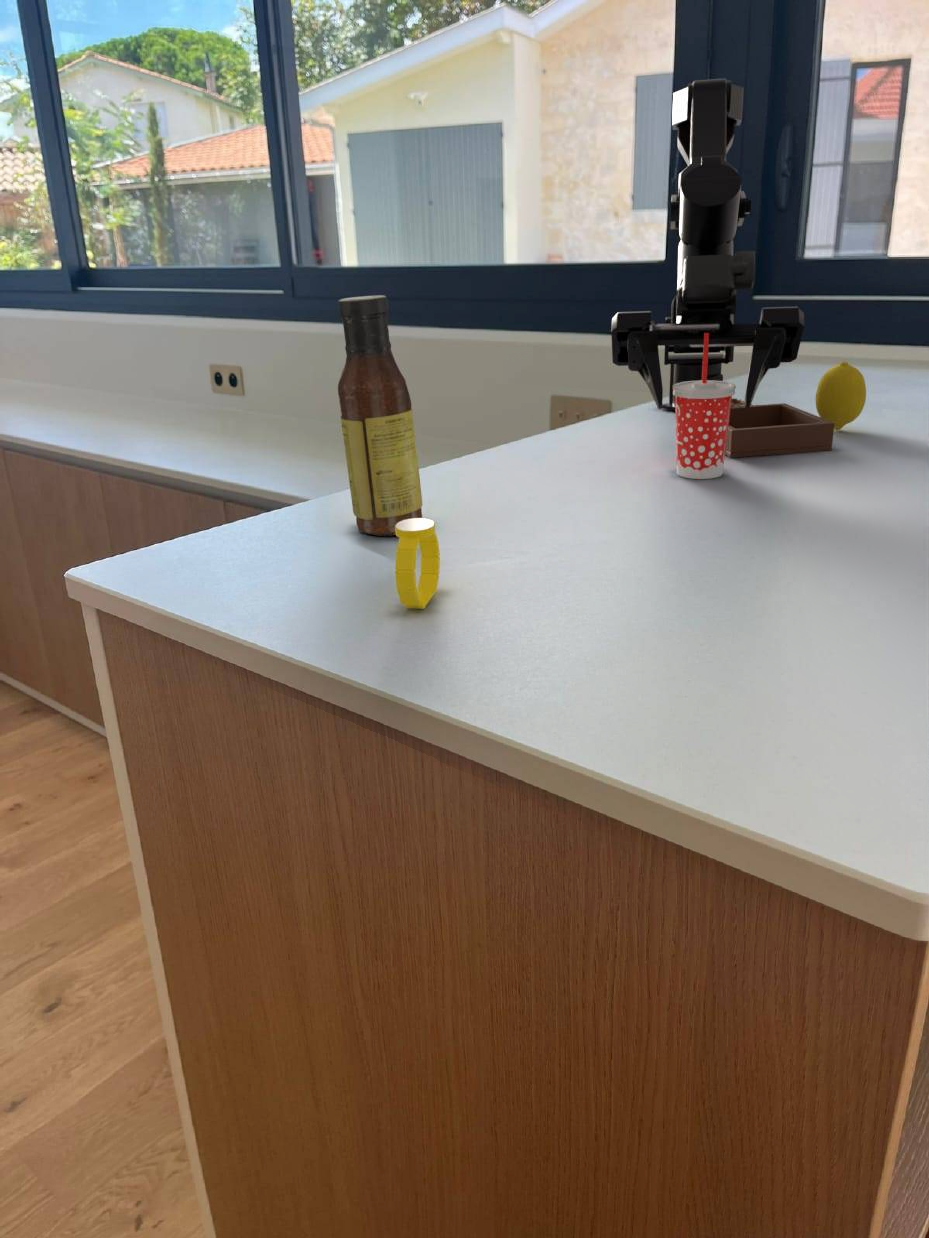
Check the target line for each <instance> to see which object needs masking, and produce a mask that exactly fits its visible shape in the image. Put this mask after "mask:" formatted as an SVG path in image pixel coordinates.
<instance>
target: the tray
mask: <svg viewBox="0 0 929 1238" xmlns="http://www.w3.org/2000/svg"><path fill="white" fill-rule="evenodd" d="M753 405H754V404H753ZM834 432H835V430H834V423H833V422H831V421H828V420H826V419H823V418H821V417H820V416H819V415H815V414H813V413H810V412H808V411H805V410H803V409H800V408H799V407H796V406H792V405H790V404H788V403H786V402H783V403H769V404H758V405H756V404H755V405H754V406H750V407H749V408H745V406H740V407H731V410H730V418H729V426H728V434H727V442H726V450H725V456H726V457H728V458H730V459H734V458H747V457H756V456H757V457H758V456H771V455H772V456H773V455H786V454H796V453H797V454H798V453H811V452H824V451H832V450H833V442H834V441H833V440H834Z"/></svg>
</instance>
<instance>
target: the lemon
mask: <svg viewBox="0 0 929 1238" xmlns="http://www.w3.org/2000/svg"><path fill="white" fill-rule="evenodd" d="M866 400H867V387H866V381H865V377H864V376H863V373H862V372H861V371H860V370H859V369H858V368H857V367H854V366H853V365H851V364H849V363H848V361H841V362H839V364H838V365H834V366H833V367H831V368H829V369H828V370H827V371H825V373H824V374H823V375H822V376H821V377H820V380H819V382H818V385H817V387H816V393H815V409H816V412H817V414H818V417H821V418H823V419H826V420H828V421H831V422H833V423H834V431H840V430H841V429H842V428H844V427H845V426H846V425H849V424H851V423H853V422H854V421H855V420H856V419H857V418H858V417H859V416H860V414H862V411H863V410H864V407H865V404H866Z"/></svg>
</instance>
